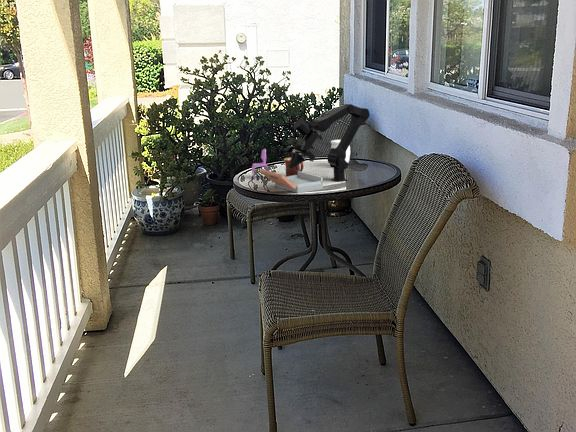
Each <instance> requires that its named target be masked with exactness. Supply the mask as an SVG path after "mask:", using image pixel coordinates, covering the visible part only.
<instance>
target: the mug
mask: <svg viewBox="0 0 576 432" xmlns="http://www.w3.org/2000/svg"><path fill="white" fill-rule="evenodd" d="M291 157H292V156H290V157H285V158H283V161H284V164H285V166H284V167H285V177H287V176H293V175H298V171H301V172H304V162H302V163H300V164H298V165H296V166H295V167H293V168H289V164H290V161H291Z"/></svg>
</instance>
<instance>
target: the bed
mask: <svg viewBox="0 0 576 432" xmlns="http://www.w3.org/2000/svg"><path fill="white" fill-rule="evenodd" d="M285 177H286V176H285ZM286 178H287V179H288V180H289V181H290V182H291V183H292V184H293V185H295V186H296V188H295V189H293V188H290V187H286V186H283V185H280V184H277V183H274V186H275V187H277V188H280V189H283V190H286V191H290V192H293V193H296V192H297V193H296V194H300V193H299V192H301V193H306V192H311V191H312V192H313V191H318V190H322V189H324V180H323V179H324V178H323V176H320V175H315V174H312V173H308V172H306V171H305V172H304V171H302V172H301V171H298V175H293V176H287V177H286Z"/></svg>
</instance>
